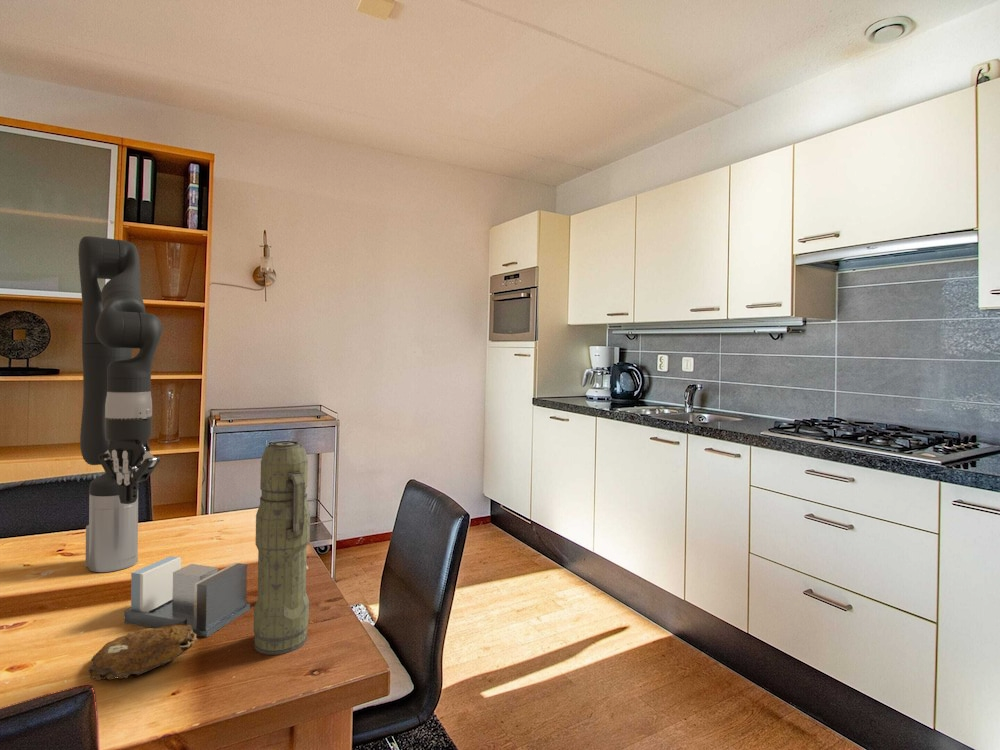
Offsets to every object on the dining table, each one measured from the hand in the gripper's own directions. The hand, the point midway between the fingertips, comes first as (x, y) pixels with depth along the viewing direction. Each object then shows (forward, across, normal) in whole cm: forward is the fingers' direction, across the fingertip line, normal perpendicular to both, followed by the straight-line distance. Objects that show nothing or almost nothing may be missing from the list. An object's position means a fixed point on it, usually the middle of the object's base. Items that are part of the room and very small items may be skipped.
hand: (128, 502), depth 105 cm
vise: (+20, +14, 0) cm, 25 cm away
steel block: (+19, +16, 0) cm, 25 cm away
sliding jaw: (+19, +7, 0) cm, 20 cm away
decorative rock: (+21, +19, -14) cm, 31 cm away
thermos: (+21, +36, -3) cm, 42 cm away
